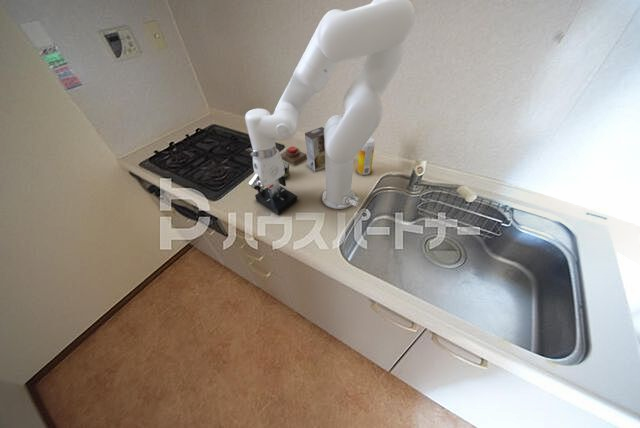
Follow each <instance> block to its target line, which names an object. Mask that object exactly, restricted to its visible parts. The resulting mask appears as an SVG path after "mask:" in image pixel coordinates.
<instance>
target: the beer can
mask: <svg viewBox="0 0 640 428" xmlns="http://www.w3.org/2000/svg"><path fill="white" fill-rule="evenodd" d="M375 144H376V142H375V139H374V138H373V137H372V136H371V137H370V138H369V140H368V141H367V142H366V144H365V145H364V146H363V148H362V149H361V150H360V152H359V153H358V154H357V166H356V167H357V168H356V171H357V173H358V174H359V175H361V176H367V175H369V174H370V173H371V172H372V168H373V160H374V151H375Z"/></svg>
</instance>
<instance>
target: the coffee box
mask: <svg viewBox="0 0 640 428" xmlns="http://www.w3.org/2000/svg"><path fill="white" fill-rule="evenodd" d="M324 128H325V127H323V126H320V127H317V128H315V129H312V130H309V131H307V132H305V133H304V137H305V148H306V149H305V150H306V157H307V158H306V159H307V166H308V167H309V168H310V169H311V170H313V172H314V173H315V172H318V171H320V170H322V169H325V144H324Z"/></svg>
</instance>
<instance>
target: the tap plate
mask: <svg viewBox="0 0 640 428" xmlns="http://www.w3.org/2000/svg"><path fill="white" fill-rule="evenodd" d="M264 190H265V193H266V199H264V198H262V197H260V196H259V193H258V192H257V193H256V194H254V197H255V201H256V202H257V203H259V204H260V205H261V206H264V207H265V208H266V209H268V210H269V211H270V212H273V213H274V214H275V215H277V216H281V214H283V213H284V212H285V211H287V210H289V209H290V208H291V207H292V206H293V205H295V204H296V203H297V202H298V195H297V194H296V193H293V191H290V190H288V189H286V188H284V186H282V185H280V190H281V197H280V198H277V199H272V198H271V197H270V194H269V190H268V187H267V186H266V187H264Z"/></svg>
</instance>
